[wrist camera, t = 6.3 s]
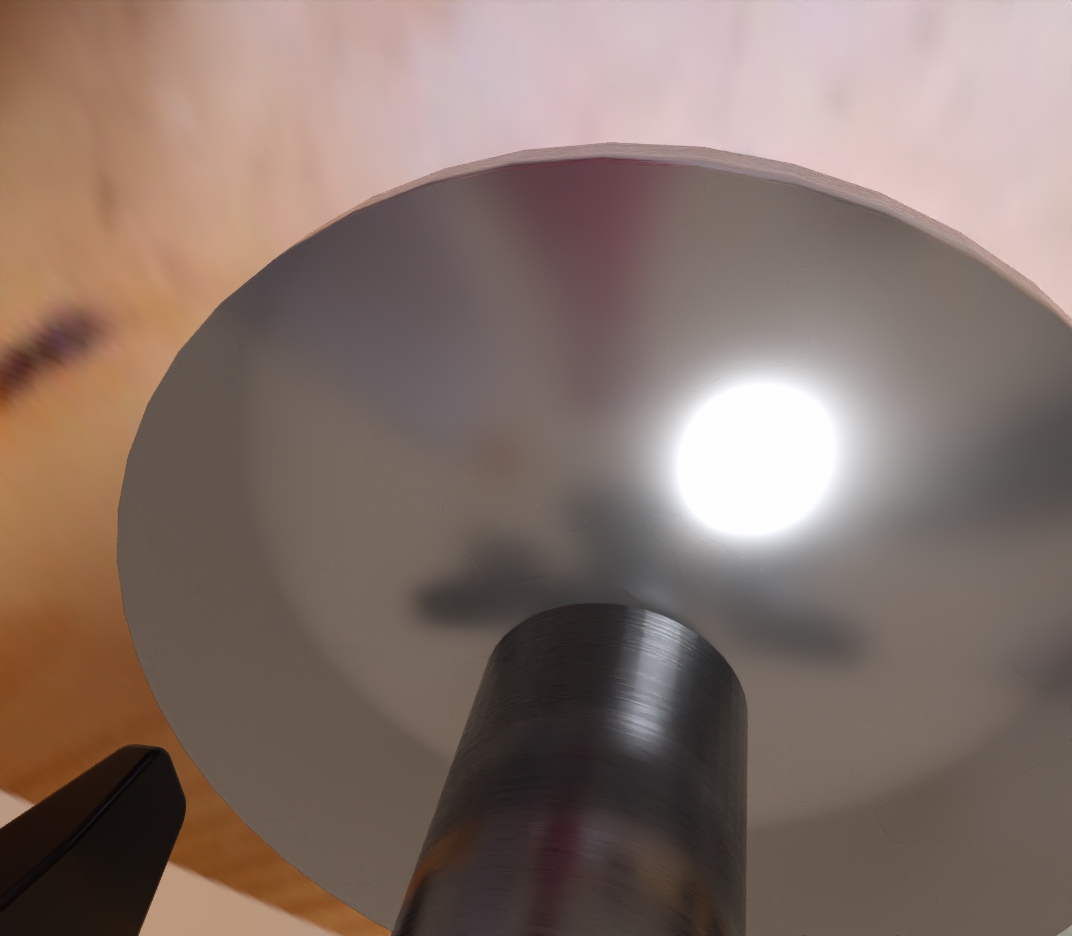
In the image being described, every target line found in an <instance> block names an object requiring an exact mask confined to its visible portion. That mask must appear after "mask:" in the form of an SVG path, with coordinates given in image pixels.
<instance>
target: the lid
mask: <svg viewBox="0 0 1072 936" xmlns="http://www.w3.org/2000/svg"><path fill="white" fill-rule="evenodd" d="M117 563H118V571H119V578H120V585H121V592H122V600H123V607H124V613H125V616H126V620H127V623H128V627H129V630H130V633H131V637H132V640H133V644H134V647H135V651H136V654H137V658H138V661H139V663H140V665H141V668H142V670H143V672H144V674H145V677H146V679H147V681H148V684H149V686H150V688H151V690H152V693H153V695H154V697H155V700H156V702H157V704H158V706H159V708H160V710H161V711H162V713H163V715H164V716H165V718H166V720H167V722H168V723H169V725H170V727H171V728H172V730H173V732H174V733H175V735H176V737H177V738H178V740H179V742H180V744H181V745H182V747H183V749H184V750H185V751H186V753H187V754H188V755H189V757H190V758H191V759H192V761H193V762H194V763H195V765H196V766H197V767H198V769H199V770H200V771H201V773H202V774H203V775H204V777H205V778H206V780H207V781H208V782H209V784H210V785H211V786H212V788H213V789H214V790H215V791H216V792H217V793H218V794H219V795H220V797H221V798H222V799H223V800H224V801H225V802H226V803H227V804H228V805H229V806H230V808H231V809H232V810H233V811H234V812H235V813H236V814H237V815H238V816H239V817H240V818H241V820H242V821H243V822H244V823H245V824H246V825H247V826H248V827H249V828H250V829H251V830H252V831H253V832H255V833H256V834H257V835H258V836H259V837H260V838H261V839H262V840H263V841H264V842H266V843H267V844H268V845H269V846H270V847H271V848H272V849H273V850H274V851H275V852H277V853H278V854H279V855H280V856H281V857H282V858H283V859H284V860H285V861H287V862H288V863H289V864H291V865H292V866H293V867H295V868H296V869H297V870H298V871H300V872H301V873H302V874H304V875H305V876H306V877H308V878H309V879H310V880H312V881H313V882H314V883H316V884H317V885H318V886H320V887H321V888H322V889H323V890H325V891H326V892H328V893H329V894H331V895H332V896H334V897H335V898H337V899H339V900H340V901H342V902H343V903H345V904H346V905H348V906H349V907H351V908H353V909H354V910H356V911H357V912H359V913H360V914H362V915H364V916H365V917H367V918H368V919H370V920H372V921H373V922H375V923H377V924H379V925H381V926H383V927H385V928H387V929H388V930H390V931H392V934H391V936H1057V935H1059V934H1060V933H1061V932H1063V931H1064V930H1066V929H1067V928H1069V927H1070V926H1071V925H1072V319H1071V318H1070V317H1069V316H1068V315H1067V314H1066V313H1065V312H1064V311H1063V310H1062V309H1061V308H1060V307H1059V306H1057V305H1056V304H1055V303H1054V302H1053V301H1052V300H1051V299H1050V298H1049V297H1048V296H1047V295H1046V294H1045V293H1044V292H1043V291H1042V290H1041V289H1040V288H1038V287H1037V286H1036V285H1035V284H1034V283H1033V282H1032V281H1030V280H1029V279H1027V278H1026V277H1025V276H1023V275H1022V274H1020V273H1019V272H1017V271H1016V270H1014V269H1013V268H1011V267H1010V266H1009V265H1007V264H1006V263H1004V262H1003V261H1001V260H1000V259H998V258H997V257H996V256H994V255H993V254H991V253H990V252H988V251H987V250H985V249H984V248H983V247H981V246H980V245H978V244H977V243H975V242H974V241H972V240H971V239H969V238H968V237H967V236H965V235H964V234H962V233H961V232H959V231H957V230H955V229H953V228H951V227H948V226H946V225H944V224H942V223H940V222H938V221H936V220H934V219H932V218H930V217H928V216H926V215H924V214H922V213H920V212H918V211H916V210H914V209H912V208H910V207H908V206H906V205H904V204H902V203H900V202H898V201H896V200H894V199H892V198H890V197H888V196H886V195H884V194H882V193H880V192H876V191H873V190H870V189H867V188H864V187H861V186H858V185H855V184H852V183H849V182H846V181H843V180H840V179H837V178H834V177H831V176H828V175H825V174H822V173H819V172H816V171H813V170H810V169H807V168H804V167H801V166H798V165H795V164H791V163H786V162H781V161H775V160H770V159H765V158H759V157H754V156H748V155H743V154H738V153H732V152H727V151H721V150H716V149H711V148H705V147H695V146H674V145H653V144H633V143H612V142H611V143H600V144H588V145H577V146H566V147H554V148H543V149H532V150H523V151H519V152H514V153H510V154H506V155H501V156H497V157H493V158H489V159H484V160H480V161H476V162H471V163H467V164H463V165H458V166H454V167H450V168H445V169H442V170H440V171H437V172H435V173H432V174H430V175H427V176H425V177H422V178H419V179H417V180H414V181H412V182H409V183H407V184H404V185H402V186H399V187H396V188H394V189H391V190H389V191H386V192H384V193H381V194H379V195H376V196H373V197H371V198H370V199H368V200H366V201H364V202H363V203H361V204H359V205H358V206H356V207H354V208H352V209H351V210H349V211H347V212H345V213H344V214H342V215H340V216H339V217H337V218H335V219H333V220H332V221H330V222H328V223H327V224H325V225H323V226H321V227H320V228H318V229H316V230H314V231H313V232H311V233H309V234H308V235H307V236H305V237H304V238H303V239H301V240H300V241H299V242H297V243H296V244H295V245H293V246H292V247H291V248H289V249H288V250H286V251H285V252H284V253H282V254H281V255H280V256H278V257H277V258H276V259H274V260H273V261H272V262H271V263H269V264H268V265H267V266H266V267H265V268H263V269H262V270H261V271H260V272H258V273H257V274H256V275H255V276H254V277H252V278H251V279H250V280H249V281H247V282H246V283H245V284H244V285H243V286H241V287H240V288H239V289H238V290H236V291H235V292H234V293H233V294H232V295H230V296H229V297H228V298H227V299H225V300H224V301H223V302H222V303H221V304H220V305H219V306H218V307H217V308H216V309H215V311H214V312H213V313H212V314H211V315H210V316H209V318H208V319H207V320H206V321H205V322H204V323H203V324H202V326H201V327H200V328H199V329H198V330H197V331H196V333H195V334H194V335H193V336H192V337H191V338H190V339H189V341H188V342H187V343H186V344H185V345H184V346H183V348H182V349H181V350H180V351H179V352H178V354H177V356H176V357H175V359H174V361H173V362H172V364H171V366H170V367H169V369H168V371H167V372H166V374H165V376H164V377H163V379H162V381H161V382H160V384H159V386H158V387H157V389H156V391H155V392H154V394H153V396H152V398H151V399H150V401H149V403H148V405H147V407H146V410H145V413H144V415H143V418H142V421H141V423H140V426H139V429H138V431H137V434H136V437H135V439H134V442H133V444H132V447H131V450H130V452H129V455H128V459H127V465H126V470H125V475H124V481H123V486H122V491H121V497H120V502H119V507H118V543H117Z"/></svg>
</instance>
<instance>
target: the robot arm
mask: <svg viewBox="0 0 1072 936" xmlns="http://www.w3.org/2000/svg"><path fill="white" fill-rule="evenodd" d="M185 812H186V800H185V796H184V793H183V790H182V787H181V785H180V782H179V779H178V777H177V774H176V771H175V768H174V766H173V763H172V760H171V758H170V755H169V754H168V752H167V751H166V750H164V749H163V748H160V747H154V746H146V745H138V744H131V745H127V746H124V747H122V748H120V749H118V750H117V751H115V752H114V753H112V754H111V755H109V756H108V757H106V758H105V759H103V760H102V761H100V762H99V763H97V764H96V765H94V766H93V767H91V768H90V769H88V770H87V771H85V772H84V773H82V774H81V775H79V776H78V777H76V778H75V779H73V780H72V781H70V782H69V783H67V784H66V785H64V786H63V787H62V788H60V789H59V790H57V791H56V792H54V793H53V794H51V795H50V796H48V797H47V798H45V799H44V800H42V801H41V802H39V803H38V804H36V805H35V806H33V807H32V808H30V809H29V810H27V811H26V812H24V813H23V814H21V815H20V816H18V817H17V818H15V819H14V820H12V821H11V822H9V823H8V824H6V825H5V826H3V827H2V828H0V936H138V935H139V933H140V930H141V927H142V925H143V923H144V920H145V918H146V915H147V913H148V910H149V907H150V905H151V902H152V900H153V897H154V895H155V892H156V890H157V887H158V885H159V882H160V880H161V877H162V875H163V872H164V869H165V867H166V865H167V862H168V860H169V857H170V855H171V852H172V850H173V847H174V845H175V842H176V839H177V837H178V834H179V832H180V829H181V827H182V824H183V821H184V817H185Z"/></svg>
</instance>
